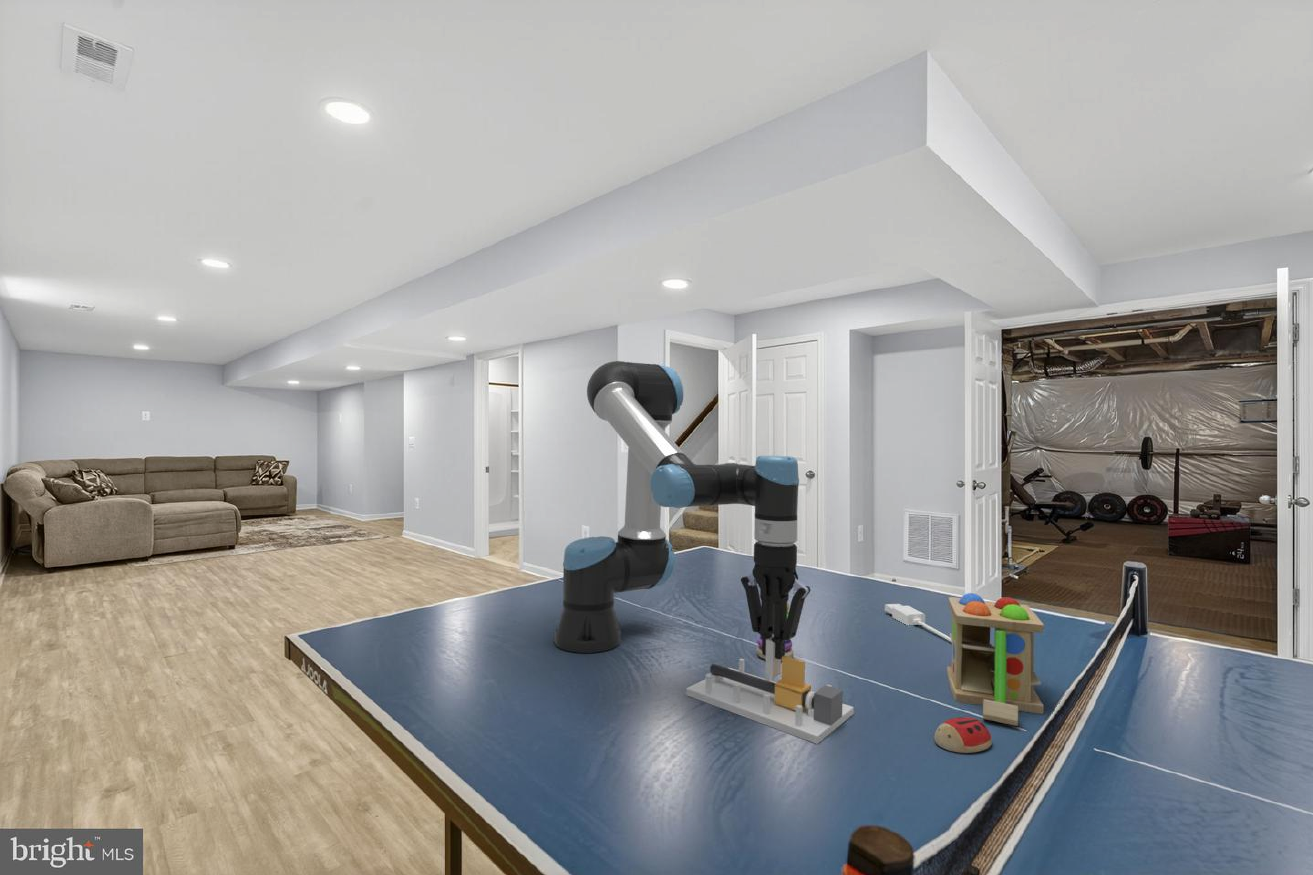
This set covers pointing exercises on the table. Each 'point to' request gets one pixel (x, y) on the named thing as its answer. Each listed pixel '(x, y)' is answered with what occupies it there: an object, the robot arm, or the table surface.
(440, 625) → the table surface
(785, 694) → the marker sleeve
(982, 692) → the pounding bench toy
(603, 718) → the table surface
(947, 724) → the ladybug figurine
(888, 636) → the table surface
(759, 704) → the slider track board
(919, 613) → the charging cable
